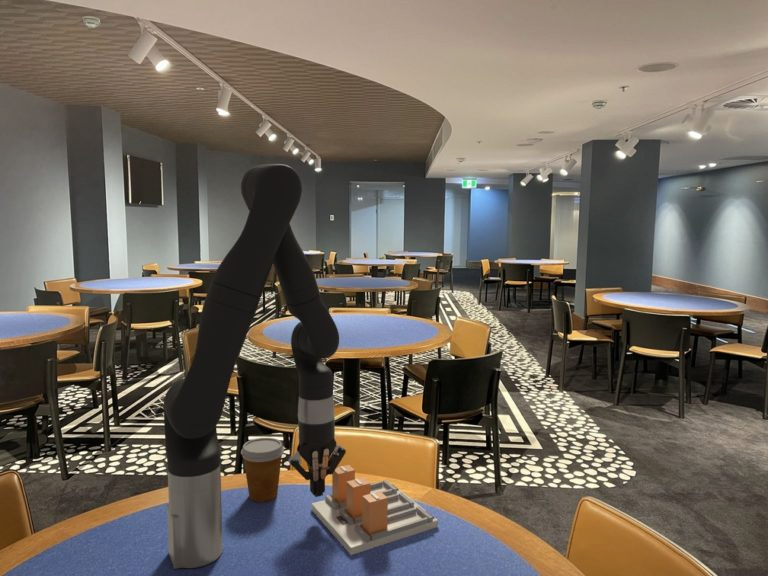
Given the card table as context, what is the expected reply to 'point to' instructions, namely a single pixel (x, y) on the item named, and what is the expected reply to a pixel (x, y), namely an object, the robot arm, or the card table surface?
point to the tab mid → (356, 496)
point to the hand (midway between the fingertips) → (317, 494)
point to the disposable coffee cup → (262, 467)
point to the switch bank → (401, 524)
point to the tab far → (341, 482)
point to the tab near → (374, 512)
